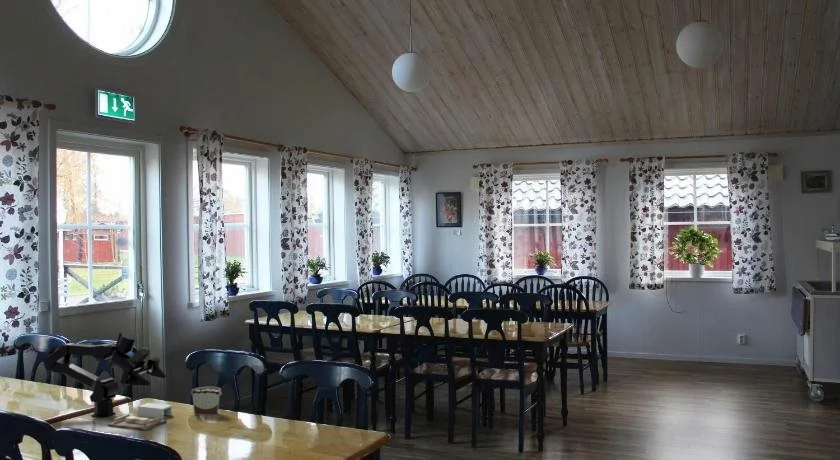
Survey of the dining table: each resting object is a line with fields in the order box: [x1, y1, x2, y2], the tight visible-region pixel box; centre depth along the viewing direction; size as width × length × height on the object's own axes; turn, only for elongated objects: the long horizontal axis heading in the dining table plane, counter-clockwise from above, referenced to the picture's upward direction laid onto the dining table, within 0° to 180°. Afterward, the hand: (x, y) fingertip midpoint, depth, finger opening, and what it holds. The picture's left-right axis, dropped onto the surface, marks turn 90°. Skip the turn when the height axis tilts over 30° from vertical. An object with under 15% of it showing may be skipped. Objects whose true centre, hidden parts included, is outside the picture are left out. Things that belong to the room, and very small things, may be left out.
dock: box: [107, 413, 168, 431], centre depth 259 cm, size 18×11×2 cm, turn 71°
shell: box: [137, 402, 173, 420], centre depth 271 cm, size 12×6×4 cm, turn 71°
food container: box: [190, 386, 223, 416], centre depth 275 cm, size 12×6×10 cm, turn 84°
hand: (157, 380), depth 266 cm, fingers open, 9 cm apart
